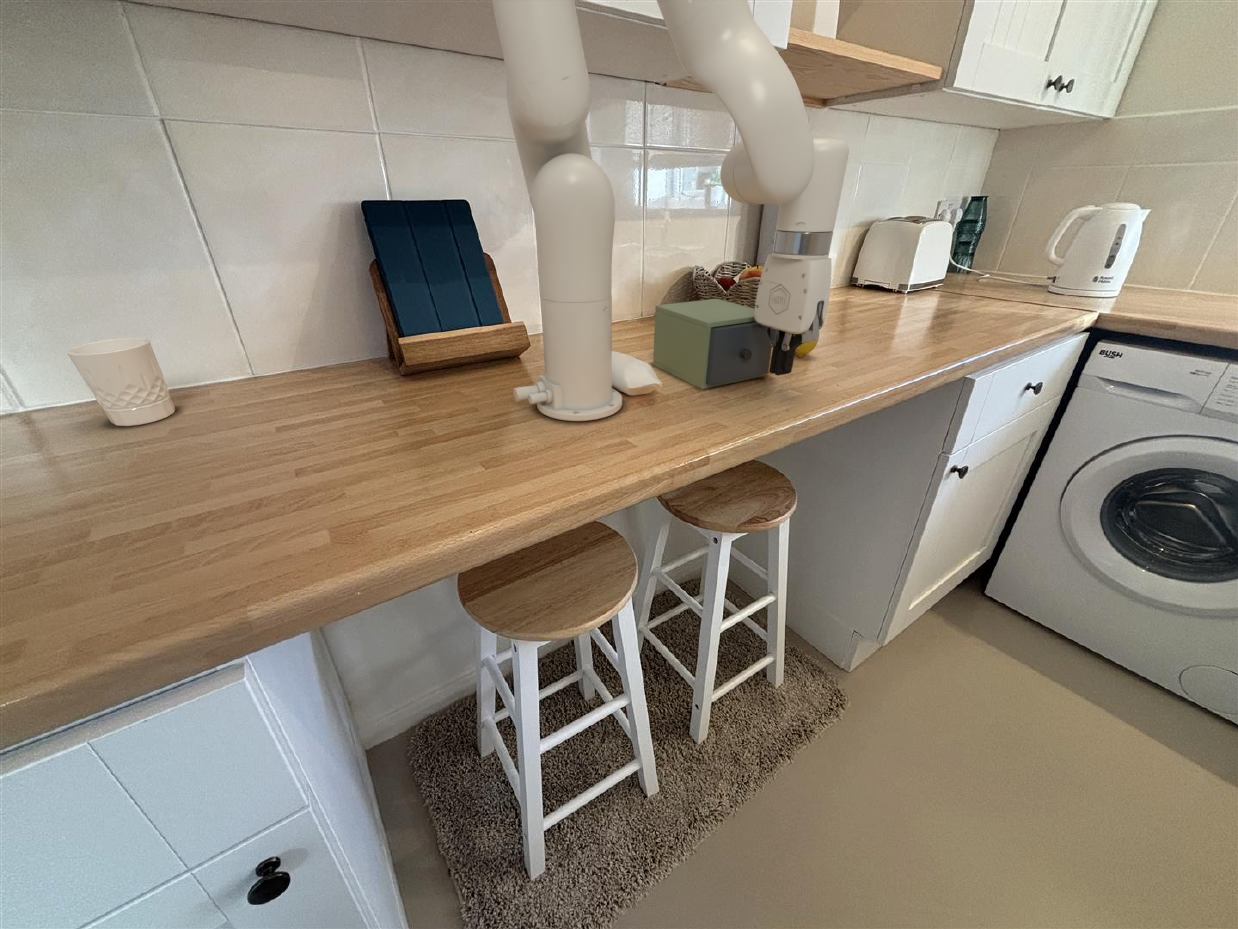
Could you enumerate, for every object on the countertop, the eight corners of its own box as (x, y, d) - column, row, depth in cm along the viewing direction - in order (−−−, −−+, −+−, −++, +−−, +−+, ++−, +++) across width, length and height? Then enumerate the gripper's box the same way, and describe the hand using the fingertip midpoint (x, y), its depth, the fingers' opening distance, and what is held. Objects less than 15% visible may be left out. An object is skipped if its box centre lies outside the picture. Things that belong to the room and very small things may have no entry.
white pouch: (639, 410, 71) (642, 372, 69) (595, 386, 80) (596, 351, 77) (671, 402, 74) (674, 366, 72) (625, 380, 83) (627, 347, 80)
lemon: (810, 353, 98) (818, 311, 94) (817, 361, 93) (826, 318, 89) (782, 352, 98) (789, 311, 94) (787, 360, 93) (795, 317, 89)
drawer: (772, 375, 83) (781, 322, 78) (714, 388, 77) (720, 331, 73) (716, 353, 94) (721, 306, 90) (662, 362, 88) (665, 312, 84)
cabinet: (764, 376, 85) (774, 313, 80) (701, 389, 79) (708, 322, 74) (711, 354, 96) (716, 298, 91) (652, 364, 90) (655, 305, 85)
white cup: (189, 403, 73) (158, 335, 68) (168, 423, 66) (133, 350, 62) (122, 410, 70) (86, 340, 65) (94, 432, 64) (52, 357, 59)
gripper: (743, 242, 72) (729, 363, 81) (827, 251, 61) (800, 392, 70) (780, 240, 75) (763, 357, 84) (866, 249, 64) (835, 383, 73)
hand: (780, 372), depth 77 cm, fingers closed
